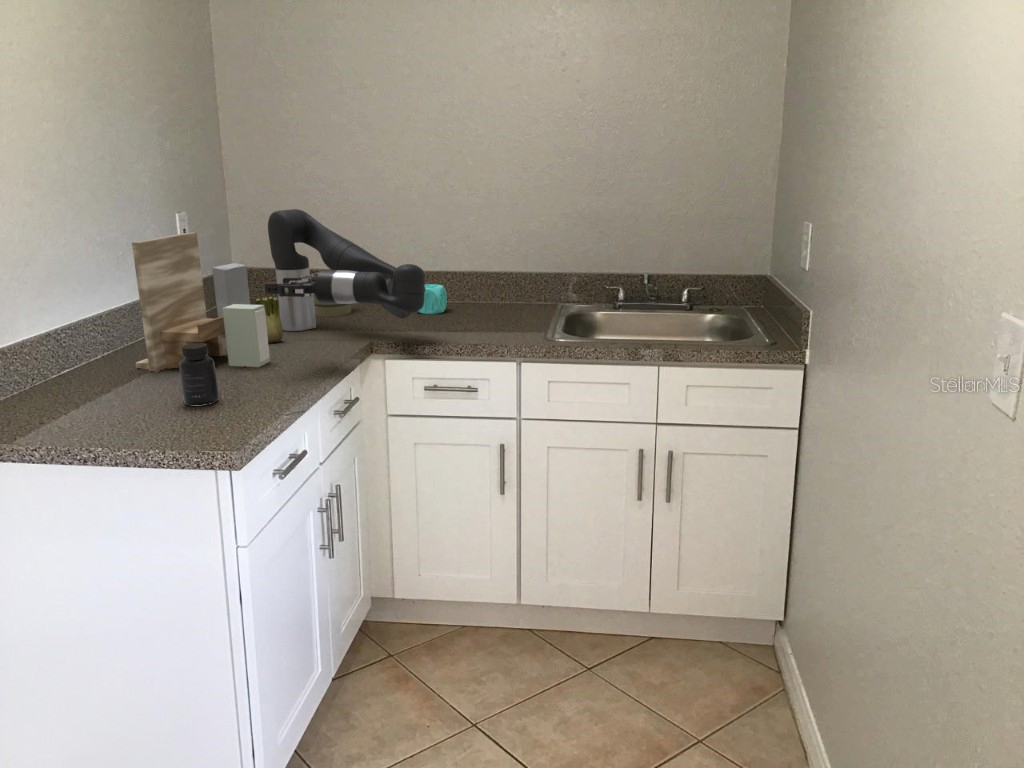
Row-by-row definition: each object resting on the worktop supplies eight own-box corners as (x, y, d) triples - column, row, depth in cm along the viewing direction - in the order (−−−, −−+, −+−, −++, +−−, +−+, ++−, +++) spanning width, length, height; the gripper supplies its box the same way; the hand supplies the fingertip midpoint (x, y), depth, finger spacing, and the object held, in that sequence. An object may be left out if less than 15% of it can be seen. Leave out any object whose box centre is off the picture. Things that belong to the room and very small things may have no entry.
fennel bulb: (257, 343, 225) (252, 298, 222) (268, 339, 229) (264, 295, 226) (275, 344, 223) (271, 299, 220) (286, 340, 227) (282, 296, 224)
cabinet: (270, 362, 205) (265, 305, 201) (260, 367, 200) (254, 308, 197) (240, 360, 207) (234, 304, 203) (228, 365, 202) (222, 308, 199)
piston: (315, 271, 267) (351, 271, 266) (319, 309, 270) (354, 308, 270) (307, 277, 256) (344, 276, 256) (310, 316, 259) (347, 316, 259)
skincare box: (238, 312, 266) (233, 262, 262) (253, 315, 262) (248, 264, 258) (215, 317, 260) (209, 265, 255) (230, 320, 256) (224, 267, 251)
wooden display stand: (249, 351, 215) (236, 232, 207) (199, 374, 195) (183, 243, 187) (186, 349, 220) (171, 232, 211) (131, 370, 199) (112, 242, 191)
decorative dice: (414, 314, 260) (413, 288, 258) (423, 309, 268) (421, 284, 265) (439, 314, 258) (438, 288, 256) (447, 309, 266) (446, 284, 264)
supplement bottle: (189, 398, 177) (182, 342, 173) (222, 396, 177) (216, 340, 174) (179, 408, 170) (172, 350, 167) (214, 406, 171) (207, 348, 167)
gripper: (327, 309, 186) (260, 307, 190) (353, 297, 200) (290, 296, 203) (325, 275, 184) (257, 273, 188) (351, 266, 198) (288, 264, 201)
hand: (274, 285), depth 196 cm, fingers open, 8 cm apart
